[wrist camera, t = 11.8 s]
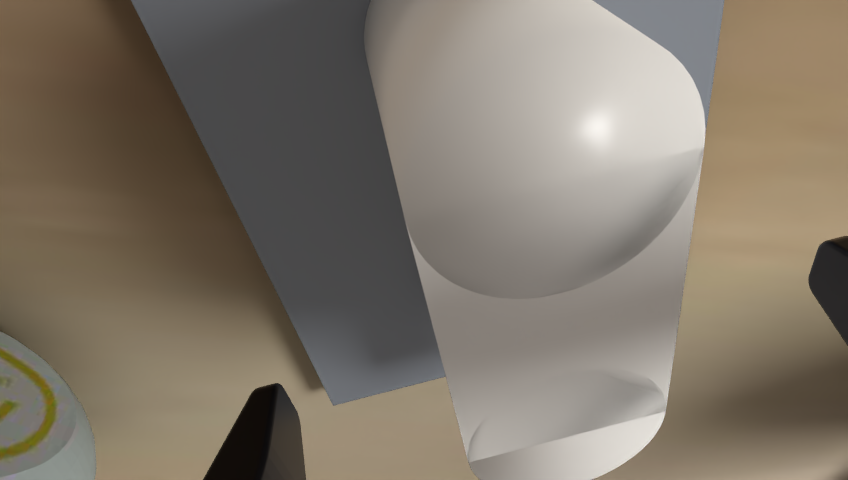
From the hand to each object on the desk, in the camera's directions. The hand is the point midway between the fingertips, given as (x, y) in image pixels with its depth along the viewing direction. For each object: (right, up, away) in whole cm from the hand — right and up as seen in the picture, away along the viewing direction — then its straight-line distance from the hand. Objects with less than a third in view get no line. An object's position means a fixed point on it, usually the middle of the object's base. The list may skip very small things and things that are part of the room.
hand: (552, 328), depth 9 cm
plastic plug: (-1, +3, +5) cm, 6 cm away
